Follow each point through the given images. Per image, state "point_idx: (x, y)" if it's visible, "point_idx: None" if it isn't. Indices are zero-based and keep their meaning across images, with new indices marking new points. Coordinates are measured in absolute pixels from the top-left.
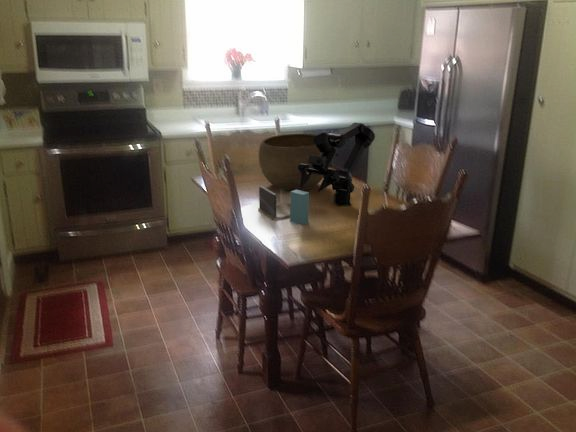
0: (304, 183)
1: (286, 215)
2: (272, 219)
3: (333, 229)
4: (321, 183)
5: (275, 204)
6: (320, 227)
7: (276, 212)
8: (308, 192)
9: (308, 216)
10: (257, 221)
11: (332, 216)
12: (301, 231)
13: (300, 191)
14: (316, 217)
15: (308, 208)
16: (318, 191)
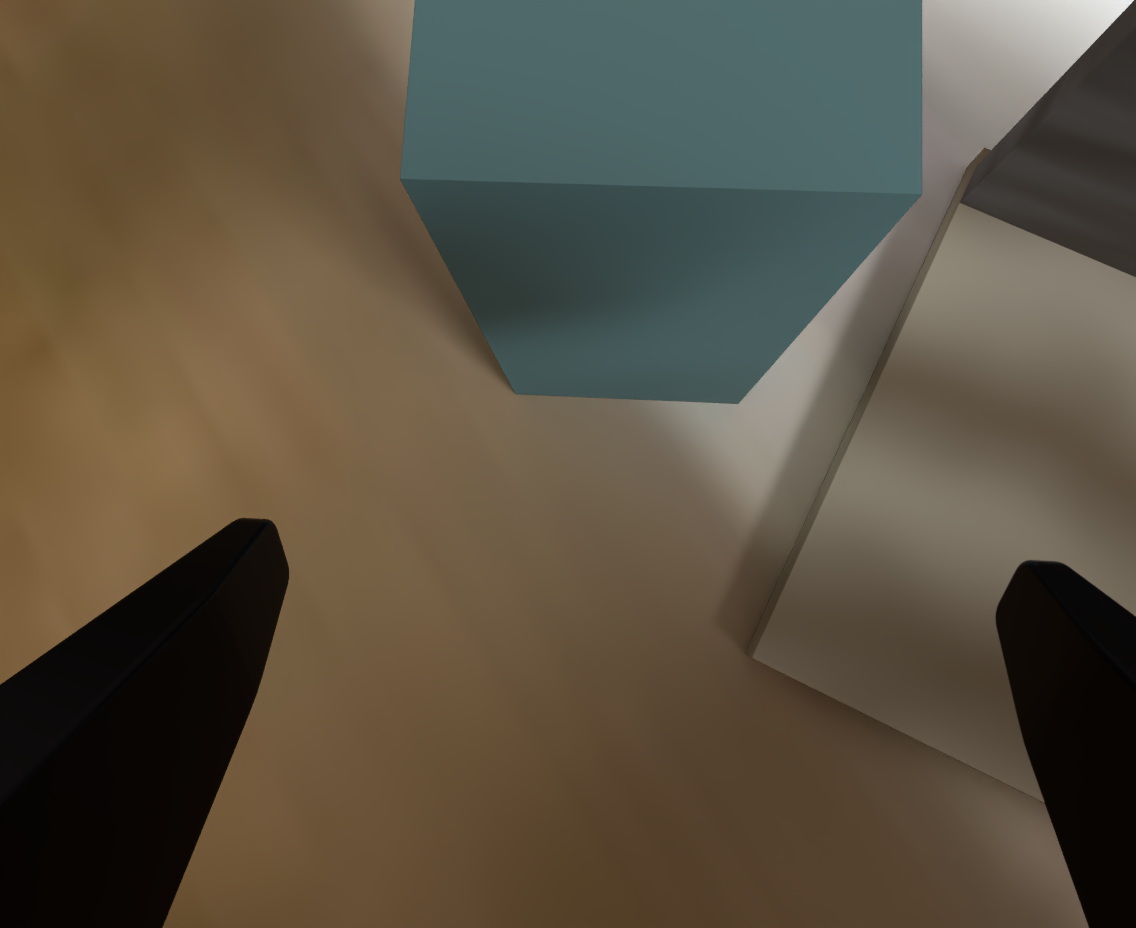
0: (1084, 832)
1: (898, 359)
2: (976, 161)
3: (107, 383)
4: (63, 723)
5: (1094, 58)
6: (283, 341)
7: (1111, 375)
8: (418, 170)
9: (504, 373)
10: (1097, 11)
11: (371, 847)
12: (407, 78)
13: (683, 102)
14: (543, 654)
15: (483, 326)
16: (271, 540)
